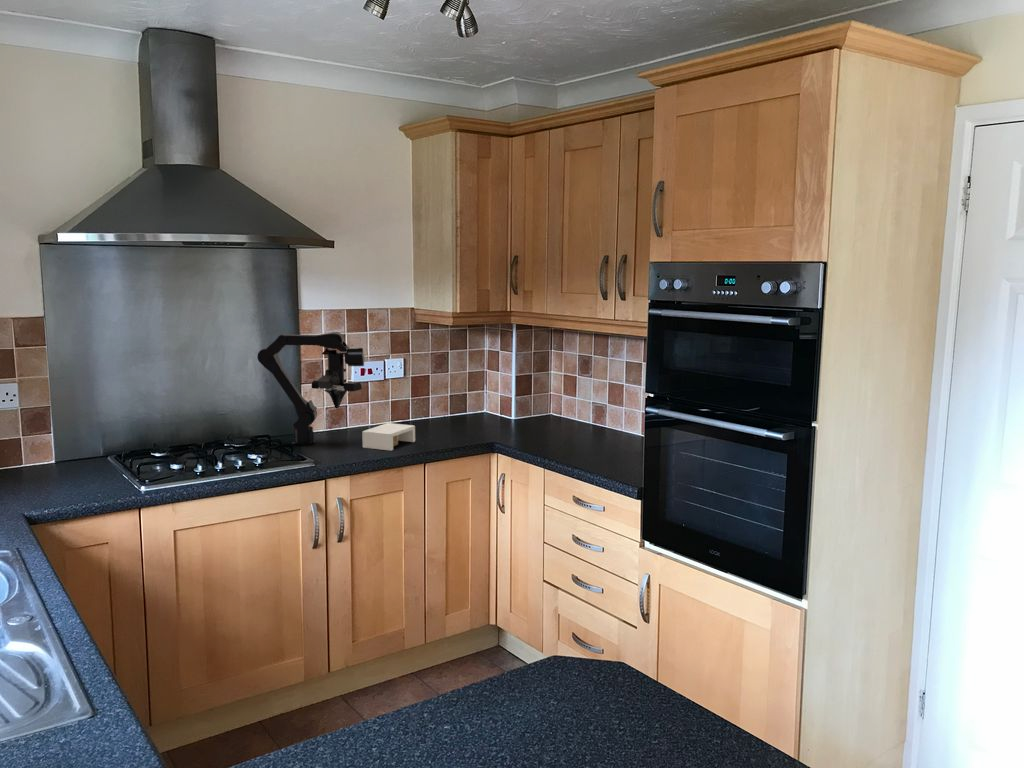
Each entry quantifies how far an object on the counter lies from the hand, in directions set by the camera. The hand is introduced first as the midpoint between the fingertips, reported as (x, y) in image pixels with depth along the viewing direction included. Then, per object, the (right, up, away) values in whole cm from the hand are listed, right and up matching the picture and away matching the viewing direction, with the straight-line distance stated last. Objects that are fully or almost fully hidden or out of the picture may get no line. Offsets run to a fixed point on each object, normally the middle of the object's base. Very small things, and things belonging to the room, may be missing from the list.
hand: (337, 408), depth 308 cm
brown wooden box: (+17, -14, -1) cm, 22 cm away
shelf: (+20, -13, -1) cm, 24 cm away
